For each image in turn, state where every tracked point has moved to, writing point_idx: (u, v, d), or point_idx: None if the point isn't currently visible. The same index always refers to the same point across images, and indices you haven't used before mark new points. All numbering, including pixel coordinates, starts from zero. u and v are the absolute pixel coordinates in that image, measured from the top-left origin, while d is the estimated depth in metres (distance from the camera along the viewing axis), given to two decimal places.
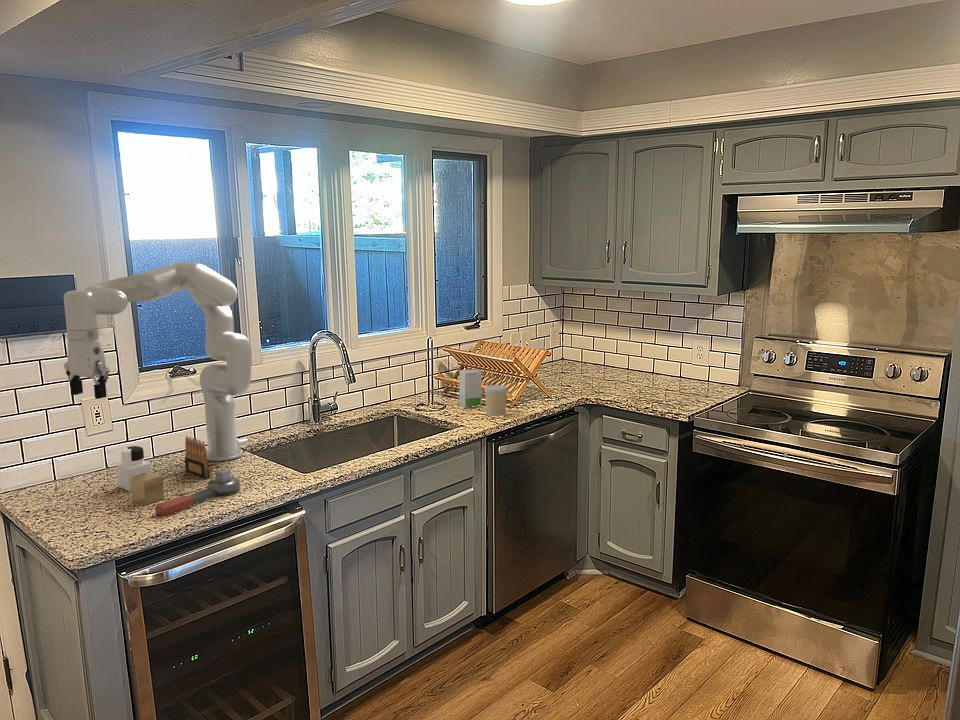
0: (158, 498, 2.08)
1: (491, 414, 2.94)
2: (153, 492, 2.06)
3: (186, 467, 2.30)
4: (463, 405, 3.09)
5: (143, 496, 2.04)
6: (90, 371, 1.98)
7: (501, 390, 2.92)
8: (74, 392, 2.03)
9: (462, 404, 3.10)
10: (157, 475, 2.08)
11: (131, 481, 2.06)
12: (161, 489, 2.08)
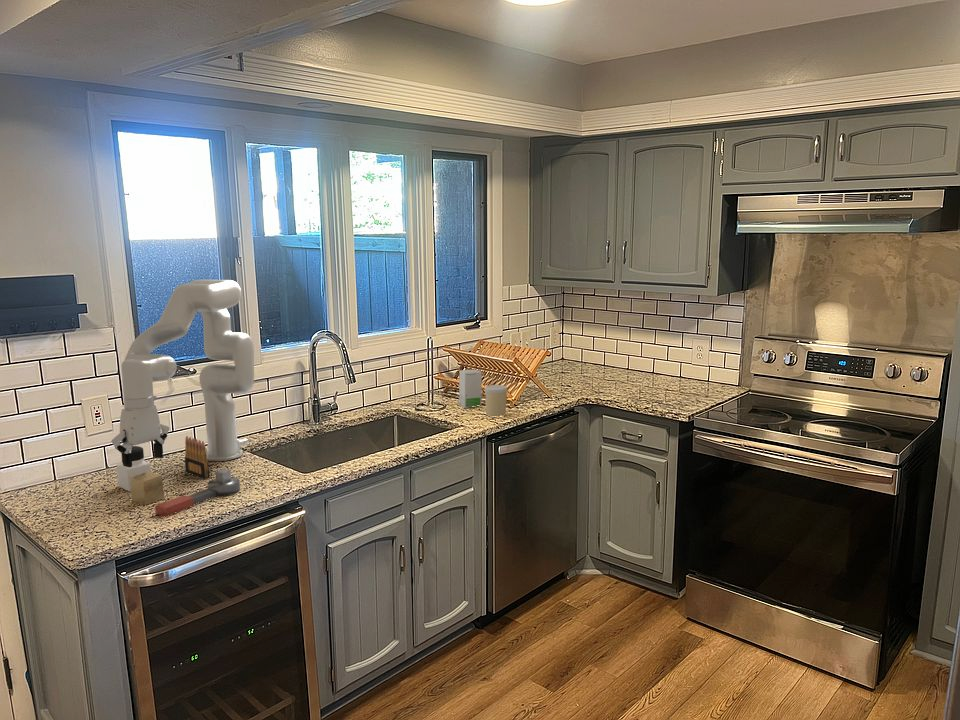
0: (158, 498, 2.08)
1: (491, 414, 2.94)
2: (153, 492, 2.06)
3: (186, 467, 2.30)
4: (463, 405, 3.09)
5: (143, 496, 2.04)
6: (159, 432, 2.07)
7: (501, 390, 2.92)
8: None
9: (462, 404, 3.10)
10: (157, 475, 2.08)
11: (131, 481, 2.06)
12: (161, 489, 2.08)
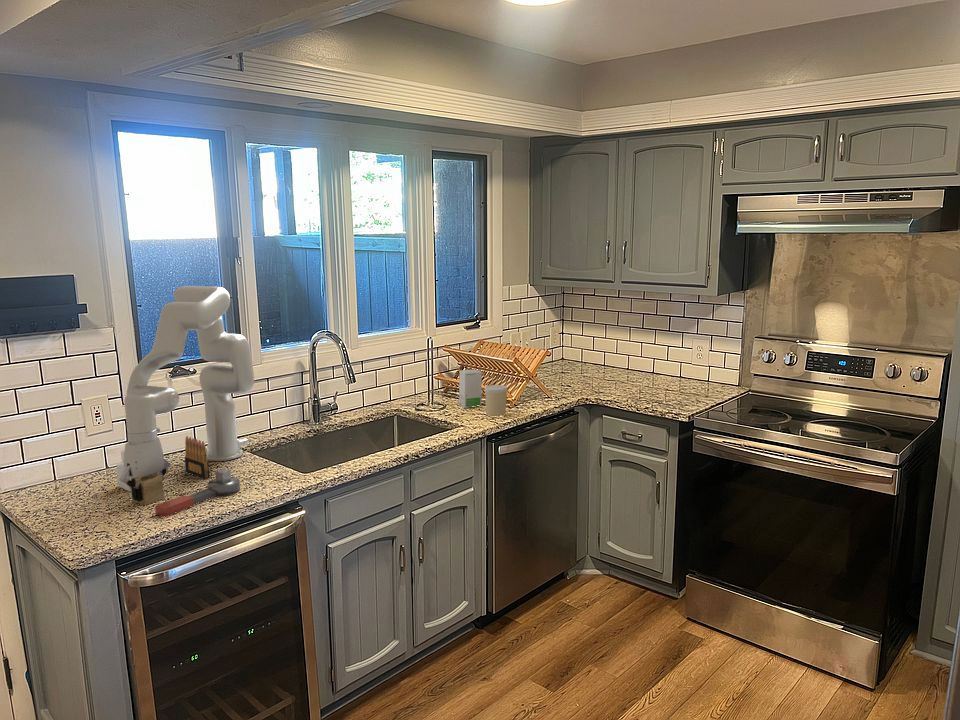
0: (158, 498, 2.08)
1: (491, 414, 2.94)
2: (153, 492, 2.06)
3: (186, 467, 2.30)
4: (463, 405, 3.09)
5: (143, 496, 2.04)
6: (163, 464, 2.09)
7: (501, 390, 2.92)
8: None
9: (462, 404, 3.10)
10: (157, 475, 2.08)
11: None
12: (161, 489, 2.08)
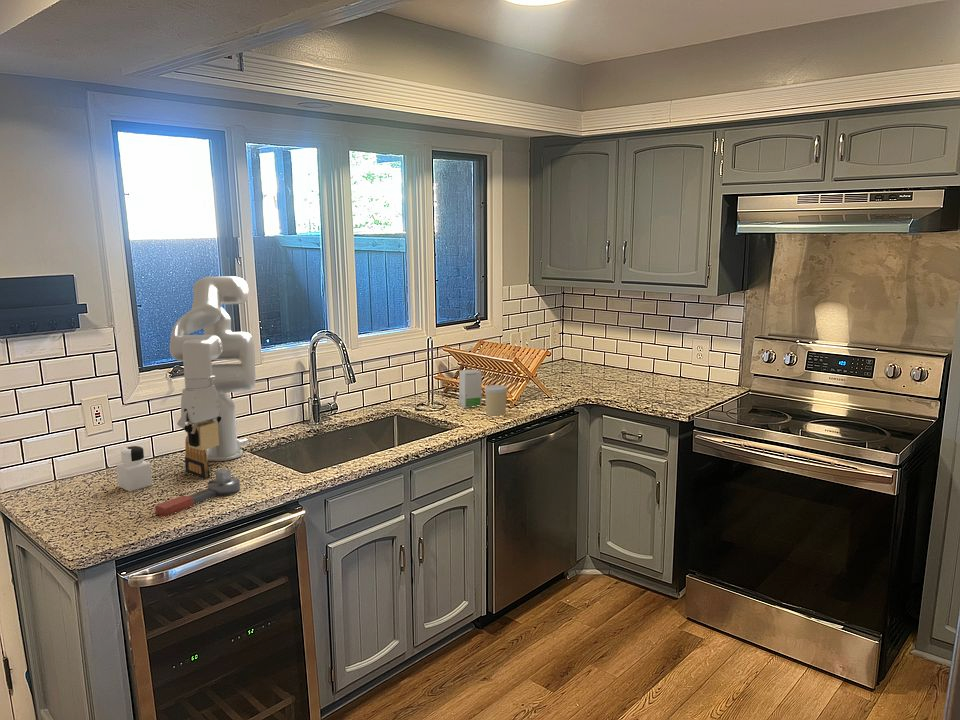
0: (213, 444, 2.10)
1: (491, 414, 2.94)
2: (208, 438, 2.09)
3: (186, 467, 2.30)
4: (463, 405, 3.09)
5: (199, 441, 2.07)
6: (218, 411, 2.12)
7: (501, 390, 2.92)
8: None
9: (462, 404, 3.10)
10: (213, 422, 2.10)
11: None
12: (216, 436, 2.11)
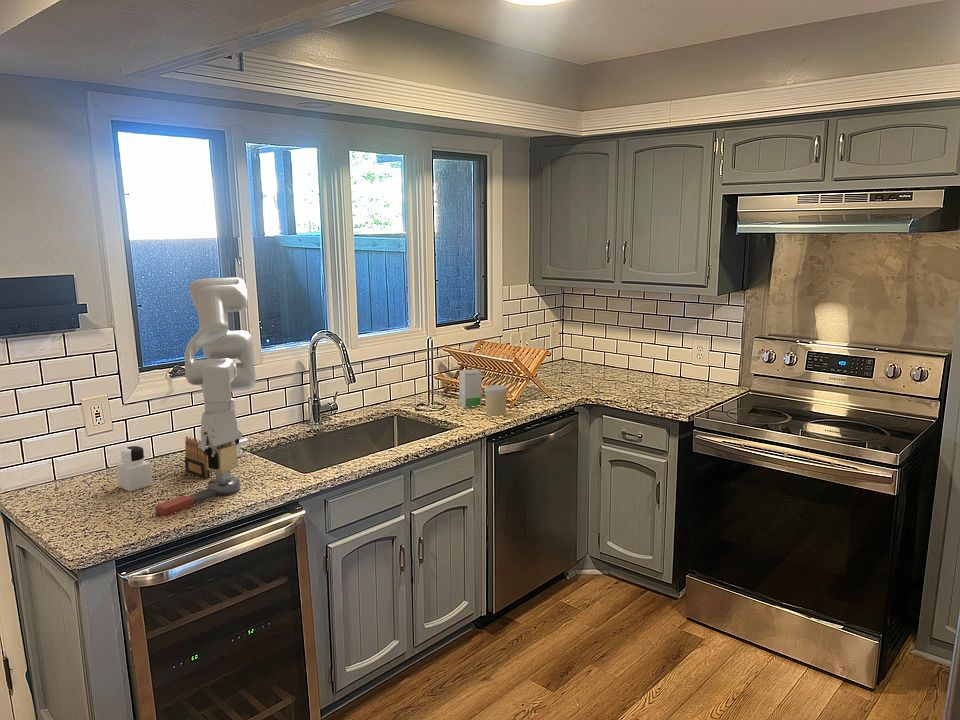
0: (232, 467, 2.13)
1: (491, 414, 2.94)
2: (228, 460, 2.12)
3: (186, 467, 2.30)
4: (463, 405, 3.09)
5: (219, 464, 2.10)
6: (237, 434, 2.15)
7: (501, 390, 2.92)
8: None
9: (462, 404, 3.10)
10: (232, 444, 2.13)
11: None
12: (235, 458, 2.14)
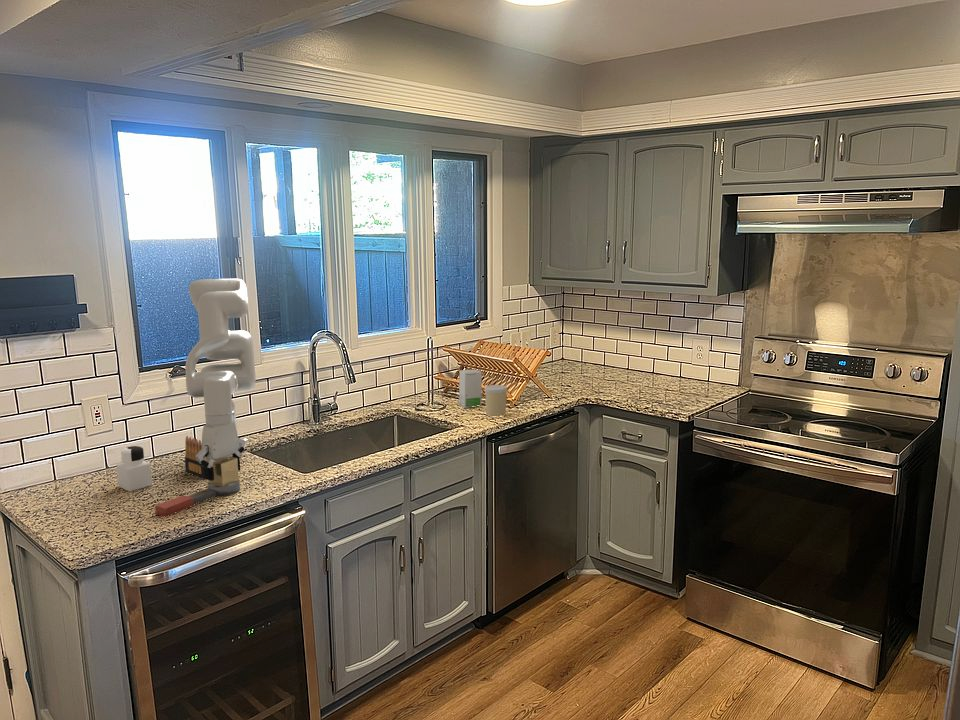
0: (233, 480, 2.14)
1: (491, 414, 2.94)
2: (229, 474, 2.13)
3: (186, 467, 2.30)
4: (463, 405, 3.09)
5: (220, 478, 2.11)
6: (237, 446, 2.16)
7: (501, 390, 2.92)
8: None
9: (462, 404, 3.10)
10: (232, 458, 2.14)
11: None
12: (236, 472, 2.15)
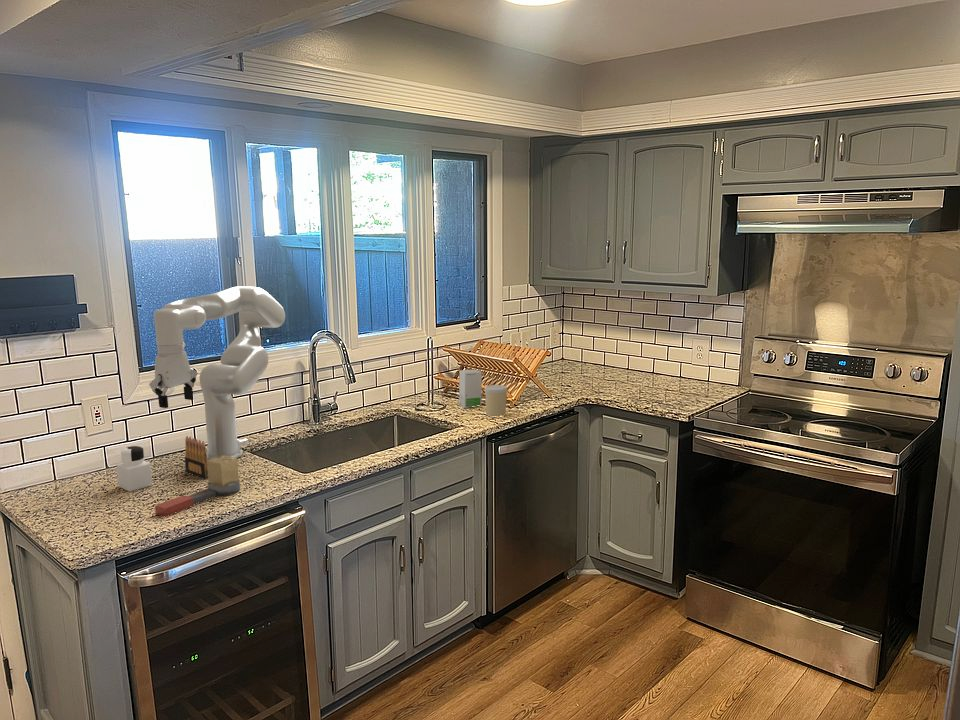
0: (233, 480, 2.14)
1: (491, 414, 2.94)
2: (229, 474, 2.13)
3: (186, 467, 2.30)
4: (463, 405, 3.09)
5: (220, 478, 2.11)
6: (190, 376, 2.26)
7: (501, 390, 2.92)
8: None
9: (462, 404, 3.10)
10: (232, 458, 2.14)
11: (208, 464, 2.13)
12: (236, 472, 2.15)
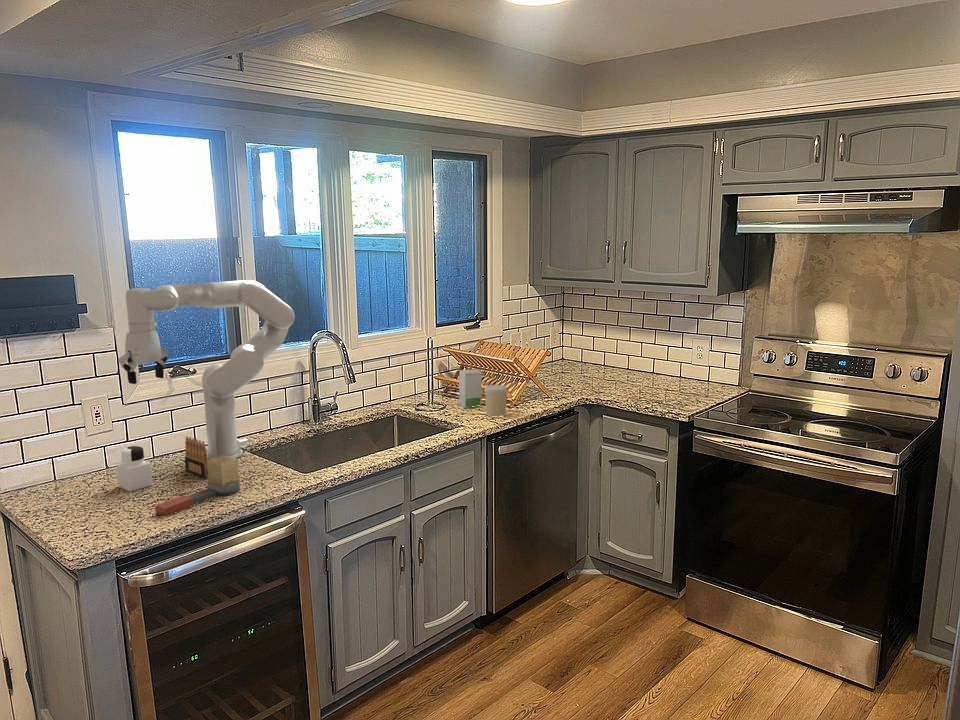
0: (233, 480, 2.14)
1: (491, 414, 2.94)
2: (229, 474, 2.13)
3: (186, 467, 2.30)
4: (463, 405, 3.09)
5: (220, 478, 2.11)
6: (160, 355, 2.33)
7: (501, 390, 2.92)
8: None
9: (462, 404, 3.10)
10: (232, 458, 2.14)
11: (208, 464, 2.13)
12: (236, 472, 2.15)
